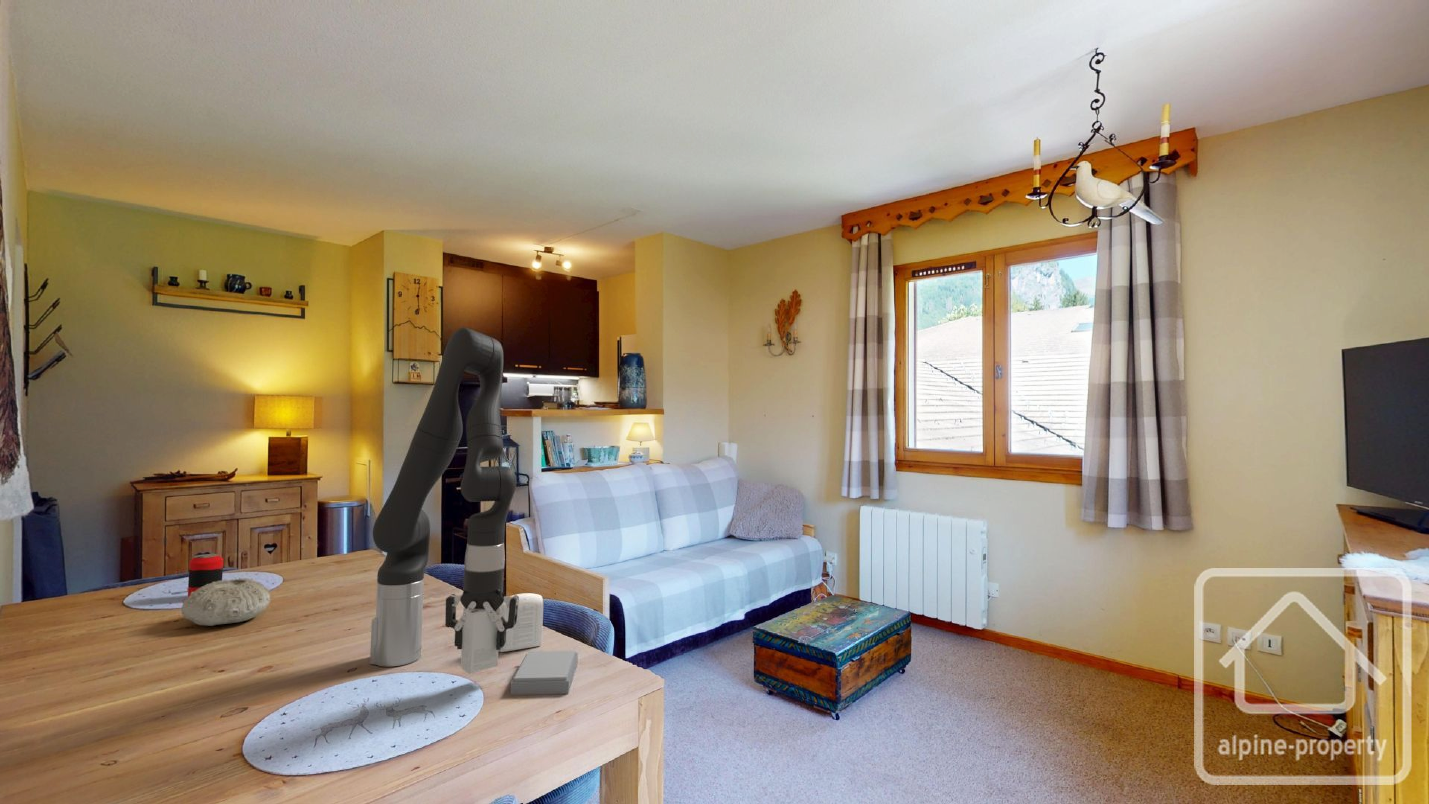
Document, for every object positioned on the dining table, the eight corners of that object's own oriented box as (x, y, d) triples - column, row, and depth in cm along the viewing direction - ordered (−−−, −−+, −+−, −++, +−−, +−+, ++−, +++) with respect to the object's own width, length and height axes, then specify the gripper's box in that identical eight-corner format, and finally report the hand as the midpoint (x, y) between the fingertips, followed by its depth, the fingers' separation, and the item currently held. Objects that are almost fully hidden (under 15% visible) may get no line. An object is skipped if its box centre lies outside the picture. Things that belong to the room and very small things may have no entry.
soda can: (180, 600, 174) (182, 557, 174) (206, 593, 181) (208, 552, 182) (202, 602, 173) (204, 559, 173) (228, 594, 180) (230, 553, 180)
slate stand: (510, 695, 118) (511, 679, 118) (526, 664, 133) (526, 650, 133) (568, 693, 119) (568, 678, 120) (577, 663, 134) (577, 649, 134)
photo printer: (538, 640, 148) (540, 589, 148) (544, 646, 144) (546, 593, 145) (494, 648, 142) (496, 594, 143) (499, 654, 139) (501, 599, 139)
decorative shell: (268, 625, 155) (269, 585, 155) (175, 638, 145) (177, 595, 145) (270, 607, 169) (272, 570, 170) (186, 617, 159) (188, 578, 160)
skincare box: (487, 660, 126) (490, 601, 127) (498, 667, 123) (502, 606, 124) (458, 668, 122) (462, 607, 122) (469, 675, 119) (473, 612, 119)
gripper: (441, 569, 119) (436, 655, 118) (516, 570, 120) (511, 656, 119) (454, 560, 127) (450, 641, 126) (525, 562, 128) (521, 642, 127)
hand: (480, 648), depth 123 cm, fingers closed on skincare box, 7 cm apart
